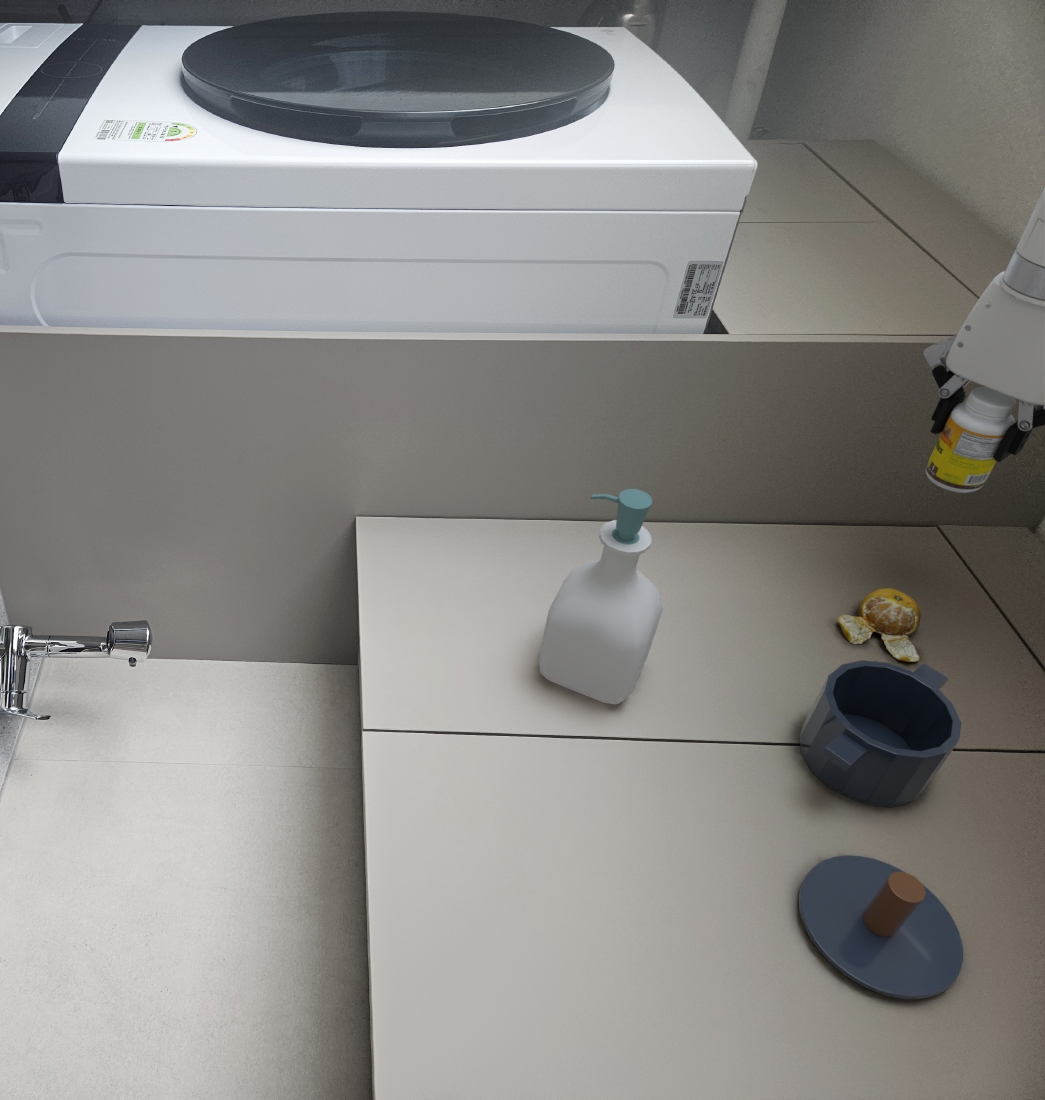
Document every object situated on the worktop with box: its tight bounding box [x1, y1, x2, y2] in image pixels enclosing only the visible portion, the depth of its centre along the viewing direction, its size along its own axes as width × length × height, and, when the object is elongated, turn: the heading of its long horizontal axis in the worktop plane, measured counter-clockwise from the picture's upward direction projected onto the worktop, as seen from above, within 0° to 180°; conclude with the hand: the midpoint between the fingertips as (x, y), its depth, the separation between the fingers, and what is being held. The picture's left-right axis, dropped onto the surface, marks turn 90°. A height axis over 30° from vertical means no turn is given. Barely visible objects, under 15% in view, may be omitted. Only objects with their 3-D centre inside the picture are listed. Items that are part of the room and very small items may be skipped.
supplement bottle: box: [924, 386, 1017, 494], centre depth 98 cm, size 6×6×10 cm
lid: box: [798, 854, 964, 1000], centre depth 76 cm, size 12×12×7 cm
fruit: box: [837, 587, 922, 663], centre depth 102 cm, size 8×8×4 cm
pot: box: [799, 659, 962, 807], centre depth 88 cm, size 11×16×8 cm
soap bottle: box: [538, 488, 664, 705], centre depth 92 cm, size 10×10×23 cm
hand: (971, 440), depth 98 cm, fingers closed on supplement bottle, 5 cm apart
